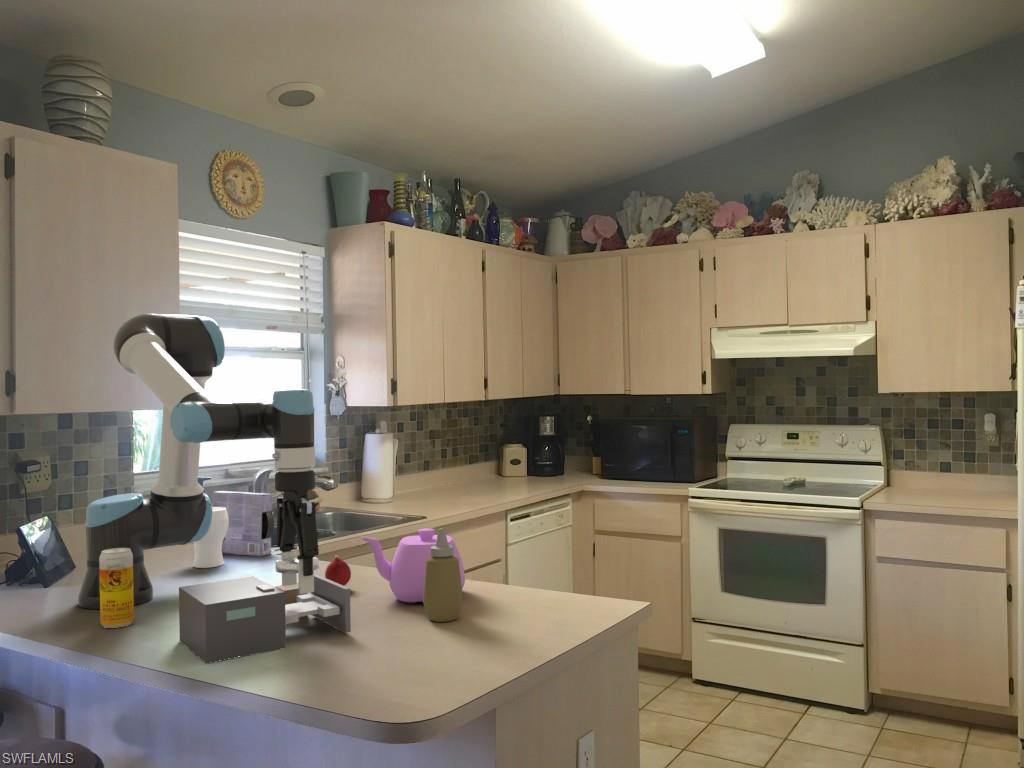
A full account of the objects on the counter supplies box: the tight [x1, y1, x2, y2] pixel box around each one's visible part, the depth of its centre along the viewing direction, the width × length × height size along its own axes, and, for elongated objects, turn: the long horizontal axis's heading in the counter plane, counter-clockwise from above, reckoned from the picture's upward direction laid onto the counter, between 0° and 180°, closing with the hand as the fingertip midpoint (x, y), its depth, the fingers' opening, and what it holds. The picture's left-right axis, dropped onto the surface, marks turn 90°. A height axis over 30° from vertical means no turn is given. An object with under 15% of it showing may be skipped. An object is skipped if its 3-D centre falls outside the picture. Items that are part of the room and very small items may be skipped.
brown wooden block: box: [274, 582, 309, 618], centre depth 175 cm, size 5×5×6 cm
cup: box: [192, 506, 229, 569], centre depth 229 cm, size 11×11×15 cm
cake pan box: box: [212, 490, 275, 557], centre depth 245 cm, size 19×5×18 cm, turn 68°
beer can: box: [99, 548, 135, 629], centre depth 171 cm, size 6×6×15 cm
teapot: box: [360, 527, 466, 604], centre depth 190 cm, size 23×21×15 cm
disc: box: [274, 556, 320, 574], centre depth 163 cm, size 8×8×2 cm
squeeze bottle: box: [422, 527, 464, 623], centre depth 171 cm, size 8×8×18 cm
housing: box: [178, 576, 287, 664], centre depth 156 cm, size 17×14×10 cm
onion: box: [324, 555, 352, 587], centre depth 197 cm, size 6×6×8 cm
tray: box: [285, 573, 352, 633], centre depth 163 cm, size 17×14×8 cm
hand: (297, 588), depth 163 cm, fingers closed on disc, 8 cm apart
